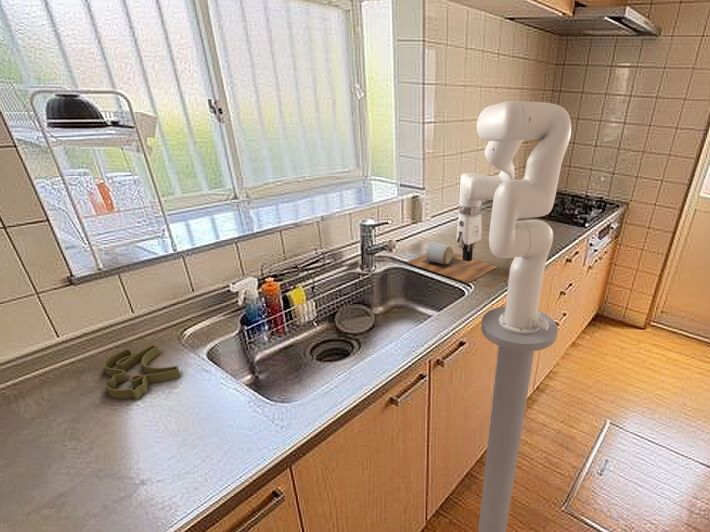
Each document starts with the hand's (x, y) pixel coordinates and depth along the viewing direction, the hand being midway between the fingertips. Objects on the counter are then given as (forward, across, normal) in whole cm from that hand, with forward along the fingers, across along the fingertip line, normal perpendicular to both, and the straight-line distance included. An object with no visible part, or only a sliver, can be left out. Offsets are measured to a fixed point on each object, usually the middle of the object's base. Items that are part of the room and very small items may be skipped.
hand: (467, 260), depth 153 cm
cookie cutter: (+5, -98, +21) cm, 100 cm away
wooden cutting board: (+4, 0, +7) cm, 8 cm away
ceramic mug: (+4, 0, +12) cm, 12 cm away
